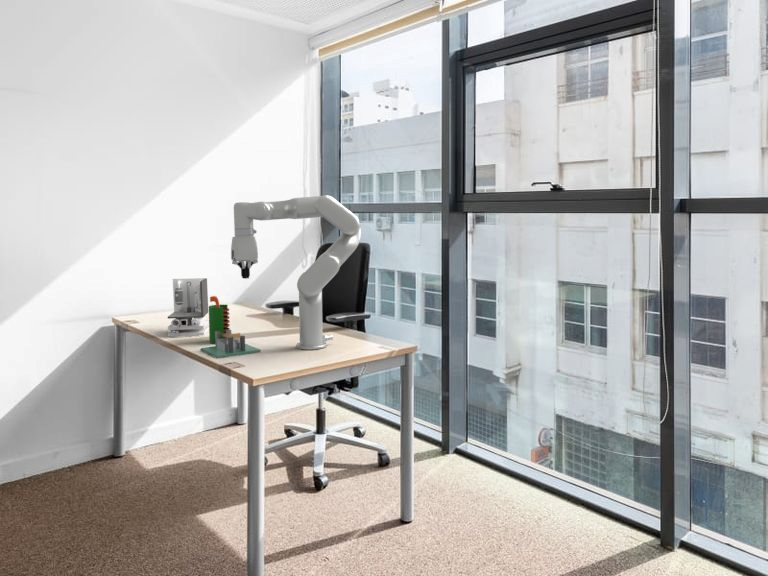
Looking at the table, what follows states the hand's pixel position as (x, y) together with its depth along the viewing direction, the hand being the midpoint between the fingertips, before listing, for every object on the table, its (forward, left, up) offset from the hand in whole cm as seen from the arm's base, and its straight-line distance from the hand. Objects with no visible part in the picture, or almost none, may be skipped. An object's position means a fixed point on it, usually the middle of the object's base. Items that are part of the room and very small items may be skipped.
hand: (245, 278), depth 248 cm
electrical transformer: (+8, -48, -29) cm, 57 cm away
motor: (+4, -20, -29) cm, 36 cm away
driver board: (+8, +1, -29) cm, 30 cm away
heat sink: (+8, -1, -28) cm, 29 cm away
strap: (+8, +1, -23) cm, 25 cm away
